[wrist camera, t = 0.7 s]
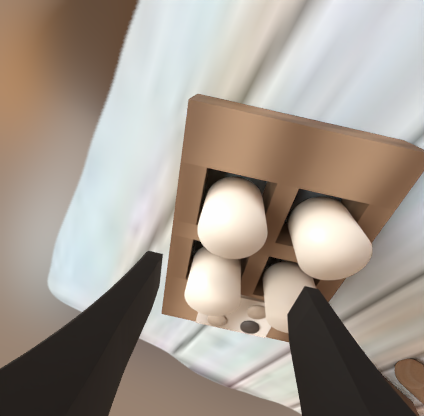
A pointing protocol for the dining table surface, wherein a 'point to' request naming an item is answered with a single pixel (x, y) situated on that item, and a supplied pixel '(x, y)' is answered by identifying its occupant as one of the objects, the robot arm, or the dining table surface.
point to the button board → (278, 191)
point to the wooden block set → (410, 380)
